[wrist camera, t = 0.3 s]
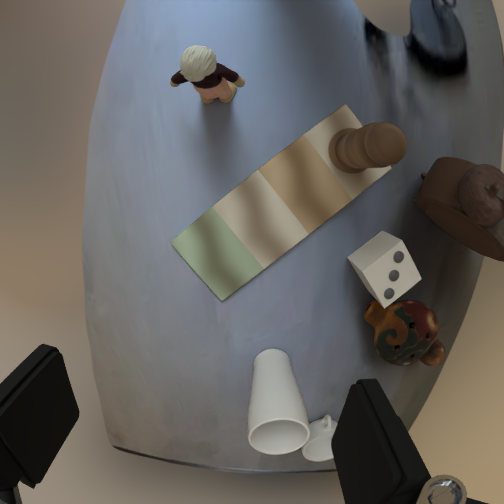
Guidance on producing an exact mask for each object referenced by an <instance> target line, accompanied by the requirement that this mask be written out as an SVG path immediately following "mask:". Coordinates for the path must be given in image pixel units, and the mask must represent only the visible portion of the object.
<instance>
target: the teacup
mask: <svg viewBox="0 0 504 504" xmlns="http://www.w3.org/2000/svg"><path fill="white" fill-rule="evenodd" d="M337 424H338V423H337V422H335V421H334V420H331V416H330V415H326V416H325V417H324V418H323V419H319V420H316V421H313V422H311V423H310V424H309V430H310V437H309V439H308V441H307V442H306V443H305V444H304V445H303V446H302V447H301V450H302V453H303V455H304V457H305V458H306V459H308V460H311V461H326V460H329V459H332V458H334V457H333V453H332V449H331V440H332V437H333V434H334V432H335V429H336V427H337Z"/></svg>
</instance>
